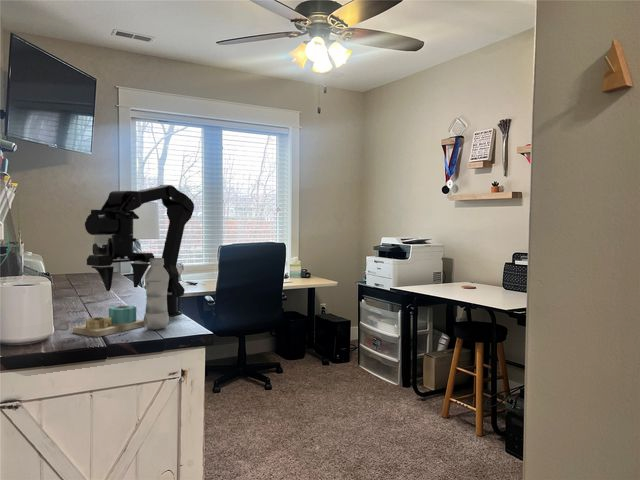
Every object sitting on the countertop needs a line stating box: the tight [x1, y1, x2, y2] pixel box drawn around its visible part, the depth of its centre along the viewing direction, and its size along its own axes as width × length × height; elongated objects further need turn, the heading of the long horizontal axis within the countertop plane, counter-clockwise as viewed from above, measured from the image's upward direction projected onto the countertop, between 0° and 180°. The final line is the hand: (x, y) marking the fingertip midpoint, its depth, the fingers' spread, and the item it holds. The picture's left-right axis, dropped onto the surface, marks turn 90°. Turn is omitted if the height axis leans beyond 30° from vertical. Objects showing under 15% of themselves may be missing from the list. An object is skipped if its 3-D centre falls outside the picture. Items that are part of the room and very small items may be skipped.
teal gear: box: [108, 304, 137, 324], centre depth 131 cm, size 7×7×4 cm
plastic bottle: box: [143, 257, 170, 331], centre depth 128 cm, size 6×7×20 cm
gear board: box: [72, 304, 145, 338], centre depth 127 cm, size 16×10×6 cm, turn 152°
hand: (122, 289), depth 131 cm, fingers open, 9 cm apart
